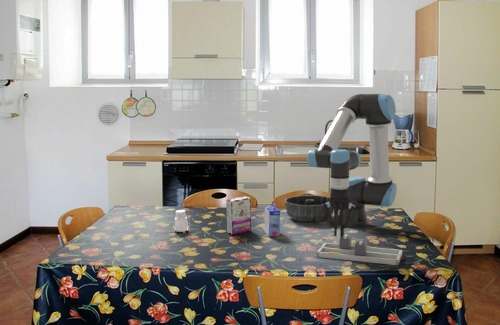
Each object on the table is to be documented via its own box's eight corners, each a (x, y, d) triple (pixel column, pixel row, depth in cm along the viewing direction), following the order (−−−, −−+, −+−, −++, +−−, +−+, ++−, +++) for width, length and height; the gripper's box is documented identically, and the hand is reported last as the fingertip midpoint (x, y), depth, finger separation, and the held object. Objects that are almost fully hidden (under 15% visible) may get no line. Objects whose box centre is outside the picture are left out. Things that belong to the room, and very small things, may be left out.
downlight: (191, 229, 276) (190, 209, 275) (188, 233, 269) (187, 212, 268) (175, 229, 277) (173, 209, 276) (172, 233, 270) (170, 213, 269)
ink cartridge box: (280, 236, 262) (280, 205, 260) (268, 237, 261) (268, 206, 259) (275, 230, 272) (275, 201, 269) (264, 231, 271) (263, 201, 268)
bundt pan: (277, 215, 303) (276, 196, 302) (322, 210, 311) (322, 193, 309) (295, 227, 278) (295, 207, 277) (344, 222, 286) (344, 202, 284)
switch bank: (324, 249, 241) (324, 241, 240) (402, 257, 229) (402, 249, 229) (316, 259, 228) (316, 251, 227) (398, 268, 217) (398, 259, 216)
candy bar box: (245, 229, 275) (245, 195, 273) (251, 231, 271) (251, 197, 269) (226, 233, 269) (225, 199, 266) (232, 235, 265) (231, 200, 262)
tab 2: (356, 256, 228) (356, 239, 227) (366, 257, 226) (366, 240, 225) (354, 259, 224) (354, 242, 223) (364, 260, 222) (365, 243, 221)
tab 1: (341, 249, 236) (341, 233, 235) (351, 250, 235) (351, 234, 234) (339, 252, 232) (339, 236, 231) (349, 253, 231) (349, 237, 230)
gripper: (321, 188, 230) (321, 244, 233) (353, 190, 225) (352, 247, 228) (326, 185, 237) (325, 239, 240) (357, 186, 232) (356, 242, 235)
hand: (338, 243), depth 234 cm, fingers closed
